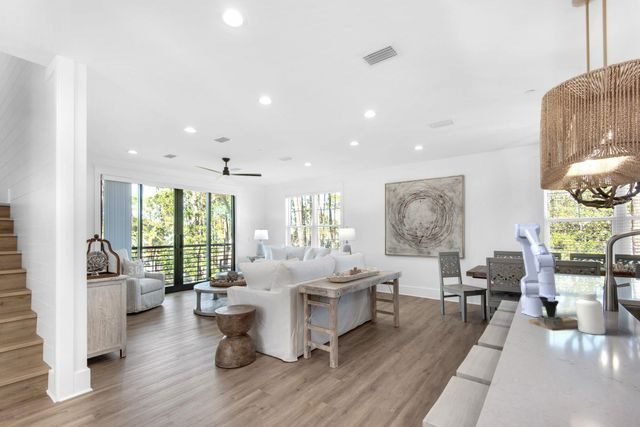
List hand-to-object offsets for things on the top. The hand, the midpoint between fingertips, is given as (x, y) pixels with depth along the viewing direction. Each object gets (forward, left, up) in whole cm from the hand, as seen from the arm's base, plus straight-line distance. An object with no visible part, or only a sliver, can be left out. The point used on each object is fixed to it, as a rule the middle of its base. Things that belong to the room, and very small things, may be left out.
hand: (550, 315), depth 130 cm
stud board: (-1, +5, -4) cm, 7 cm away
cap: (0, 0, -1) cm, 1 cm away
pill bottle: (+10, +8, -5) cm, 14 cm away
